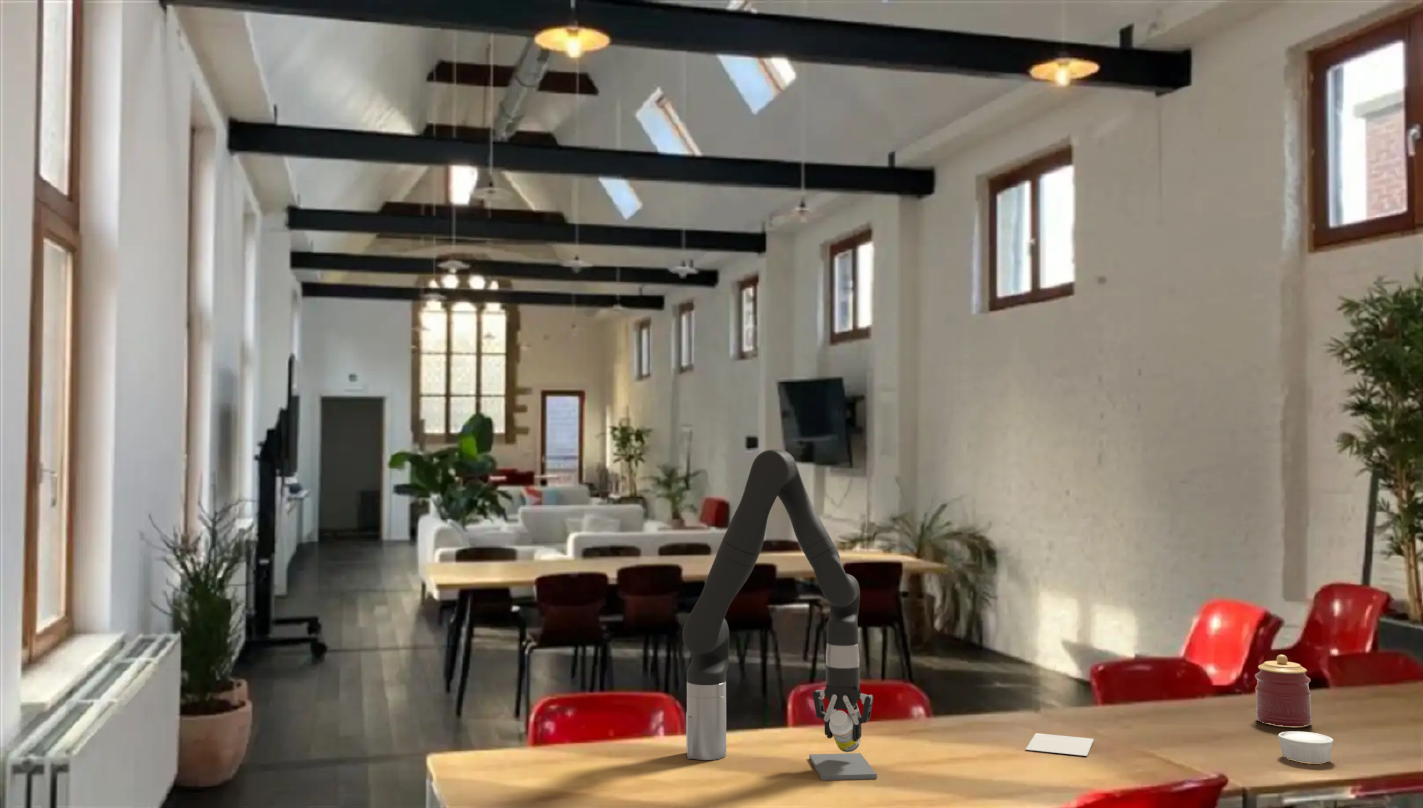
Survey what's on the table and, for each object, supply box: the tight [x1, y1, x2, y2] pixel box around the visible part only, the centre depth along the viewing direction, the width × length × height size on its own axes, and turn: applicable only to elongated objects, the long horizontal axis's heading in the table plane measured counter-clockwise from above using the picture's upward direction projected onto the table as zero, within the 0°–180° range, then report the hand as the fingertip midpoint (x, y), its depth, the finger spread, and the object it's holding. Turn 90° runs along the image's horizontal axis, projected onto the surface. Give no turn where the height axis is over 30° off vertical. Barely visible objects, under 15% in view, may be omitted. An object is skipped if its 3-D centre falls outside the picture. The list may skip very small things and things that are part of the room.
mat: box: [808, 752, 878, 781], centre depth 249 cm, size 12×17×1 cm
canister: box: [1254, 654, 1313, 726], centre depth 290 cm, size 13×13×18 cm
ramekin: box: [1277, 730, 1334, 763], centre depth 255 cm, size 11×11×5 cm
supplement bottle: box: [829, 709, 861, 753], centre depth 251 cm, size 6×6×10 cm
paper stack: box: [1025, 732, 1095, 757], centre depth 262 cm, size 23×25×1 cm
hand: (843, 738), depth 250 cm, fingers closed on supplement bottle, 5 cm apart
